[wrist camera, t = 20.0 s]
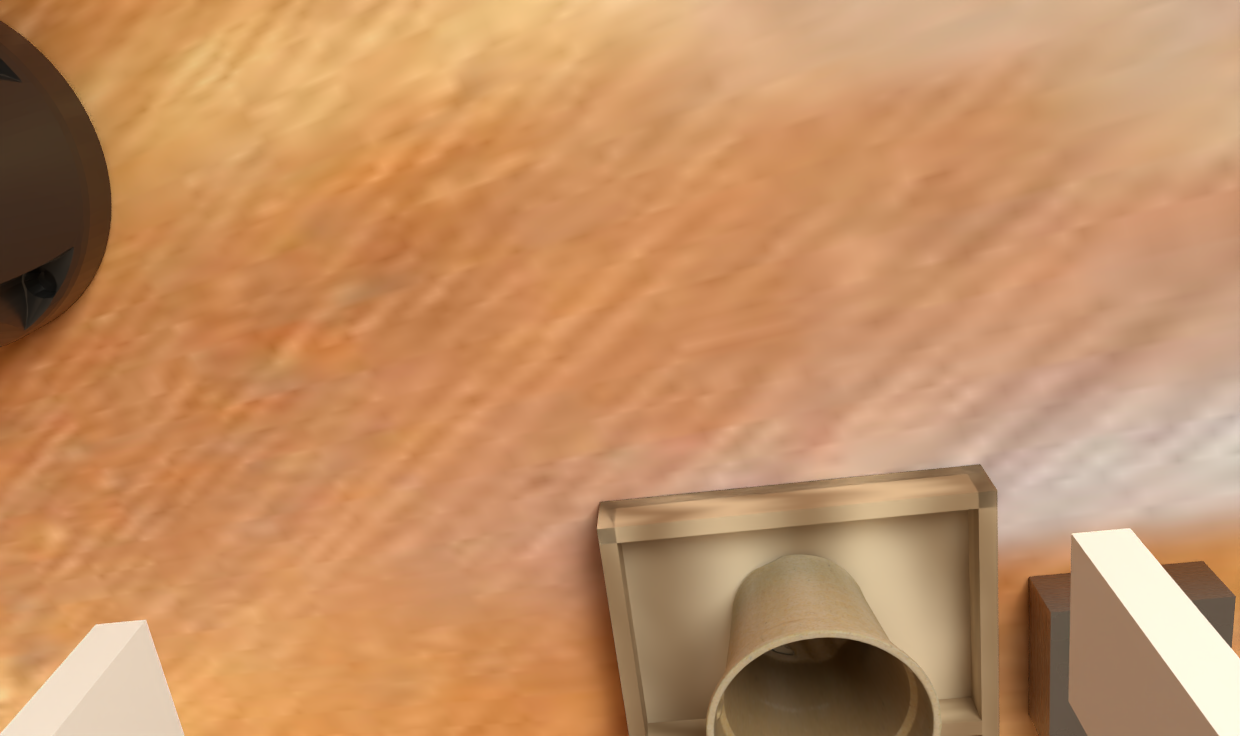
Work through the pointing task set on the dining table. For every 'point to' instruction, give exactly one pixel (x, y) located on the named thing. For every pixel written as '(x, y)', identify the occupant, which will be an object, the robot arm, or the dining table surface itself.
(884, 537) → the wooden serving tray
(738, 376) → the dining table surface
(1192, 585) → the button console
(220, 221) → the dining table surface
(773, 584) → the flower pot
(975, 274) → the dining table surface
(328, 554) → the dining table surface
